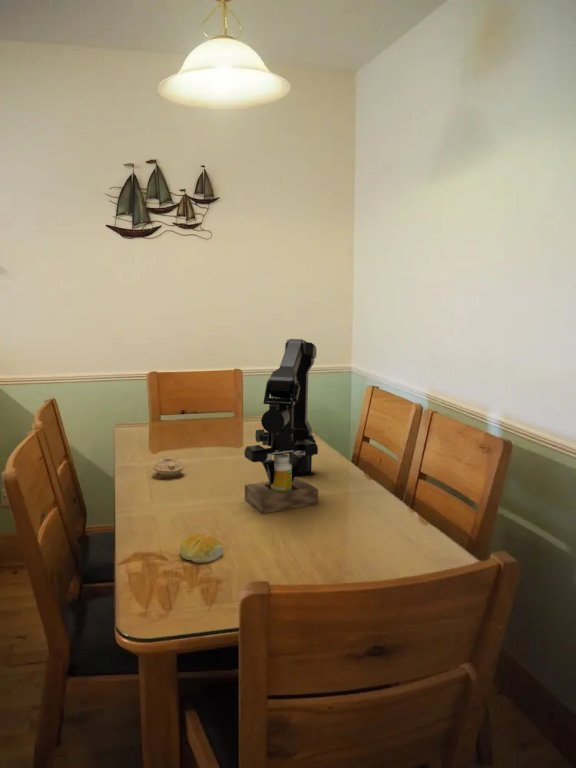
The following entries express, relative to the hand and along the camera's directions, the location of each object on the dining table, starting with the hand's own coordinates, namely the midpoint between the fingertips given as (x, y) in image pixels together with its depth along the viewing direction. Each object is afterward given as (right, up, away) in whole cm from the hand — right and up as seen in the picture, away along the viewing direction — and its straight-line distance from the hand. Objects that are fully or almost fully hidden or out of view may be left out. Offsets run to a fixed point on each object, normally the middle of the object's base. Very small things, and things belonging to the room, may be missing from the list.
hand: (281, 482), depth 157 cm
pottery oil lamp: (-34, -1, +23) cm, 41 cm away
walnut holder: (0, -5, +1) cm, 5 cm away
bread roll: (-16, -11, -30) cm, 36 cm away
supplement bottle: (0, -3, 0) cm, 3 cm away
